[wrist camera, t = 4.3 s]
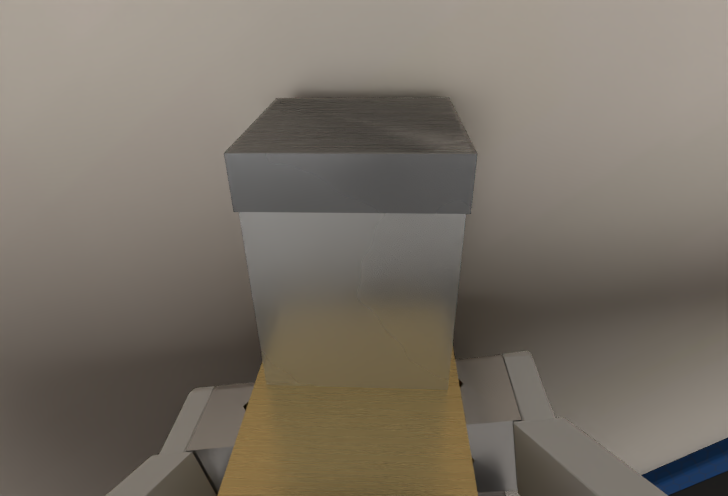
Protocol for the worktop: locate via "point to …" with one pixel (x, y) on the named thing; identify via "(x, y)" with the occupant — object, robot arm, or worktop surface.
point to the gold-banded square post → (353, 297)
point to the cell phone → (695, 473)
